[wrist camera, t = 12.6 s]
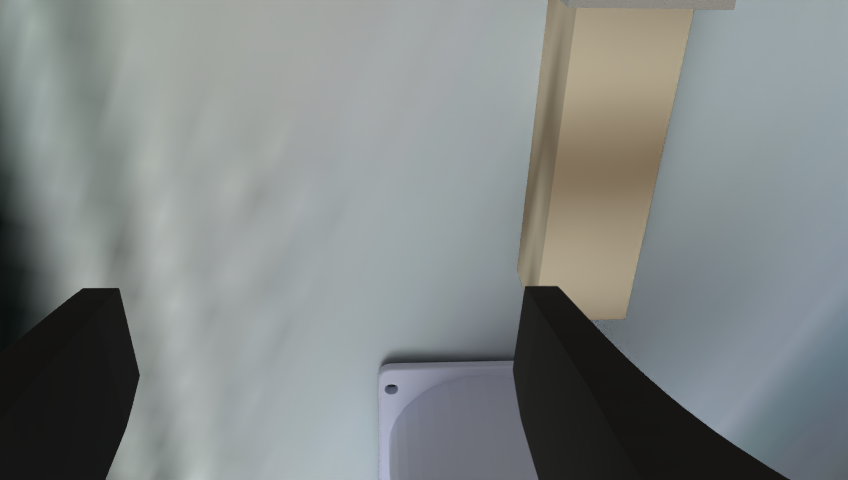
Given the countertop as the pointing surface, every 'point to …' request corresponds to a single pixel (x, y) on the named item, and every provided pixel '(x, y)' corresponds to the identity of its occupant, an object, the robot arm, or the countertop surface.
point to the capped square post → (600, 143)
